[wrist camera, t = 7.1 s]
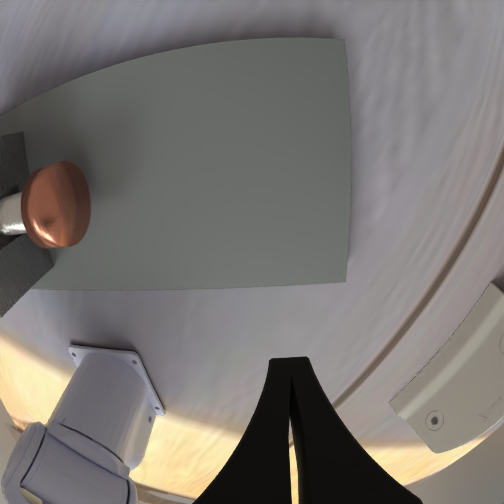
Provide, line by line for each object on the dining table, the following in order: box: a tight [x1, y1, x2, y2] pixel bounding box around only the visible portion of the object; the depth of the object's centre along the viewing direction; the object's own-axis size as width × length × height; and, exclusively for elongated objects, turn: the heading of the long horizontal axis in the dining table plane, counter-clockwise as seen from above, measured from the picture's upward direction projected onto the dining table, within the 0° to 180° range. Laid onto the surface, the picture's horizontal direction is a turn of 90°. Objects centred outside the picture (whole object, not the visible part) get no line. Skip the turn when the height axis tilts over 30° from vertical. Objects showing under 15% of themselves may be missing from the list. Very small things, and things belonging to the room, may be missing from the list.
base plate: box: [0, 37, 351, 290], centre depth 16 cm, size 14×26×2 cm, turn 94°
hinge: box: [389, 282, 504, 453], centre depth 19 cm, size 17×5×10 cm, turn 157°
